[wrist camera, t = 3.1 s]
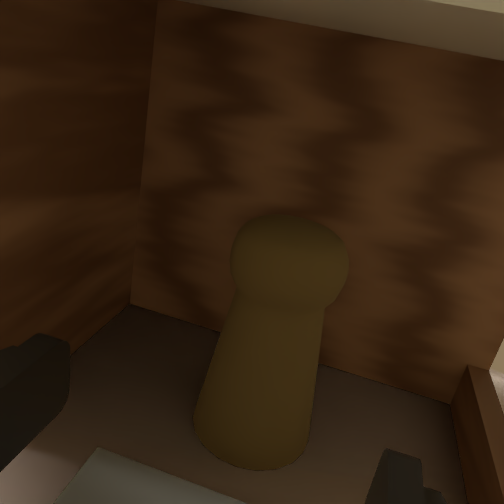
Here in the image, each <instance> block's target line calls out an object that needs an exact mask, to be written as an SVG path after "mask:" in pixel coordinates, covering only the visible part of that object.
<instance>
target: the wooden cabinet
mask: <svg viewBox="0 0 504 504" xmlns="http://www.w3.org/2000/svg"><path fill="white" fill-rule="evenodd" d="M271 214H280V215H290V216H295V217H300V218H304V219H307V220H310V221H314V222H316V223H319V224H321V225H323V226H325V227H327V228H329V229H330V230H332V231H333V232H334V233H335V234H337V235H338V236H339V237H340V238H341V239H342V240H343V241H344V244H345V247H346V251H347V254H348V258H349V272H348V275H347V279H346V282H345V284H344V286H343V288H342V289H341V291H340V293H339V294H338V296H337V298H336V299H335V301H334V302H333V303H331V304H330V305H328V306H327V307H325V312H324V320H323V328H322V336H321V344H320V352H319V360H318V363H320V364H323V365H327V366H330V367H333V368H336V369H339V370H343V371H346V372H349V373H352V374H355V375H358V376H362V377H365V378H368V379H371V380H374V381H377V382H381V383H384V384H387V385H390V386H393V387H397V388H400V389H403V390H406V391H409V392H412V393H416V394H419V395H422V396H425V397H428V398H431V399H435V400H438V401H441V402H444V403H447V404H450V407H451V413H452V418H453V424H454V429H455V435H456V440H457V446H458V451H459V456H460V462H461V467H462V473H463V478H464V484H465V489H466V495H467V500H468V504H504V414H503V411H502V408H501V405H500V402H499V399H498V396H497V393H496V390H495V388H494V385H493V382H492V379H491V376H490V373H489V369H490V367H491V365H492V363H493V360H494V358H495V356H496V354H497V352H498V350H499V347H500V345H501V343H502V341H503V339H504V0H0V350H1V349H4V348H7V347H10V346H12V345H14V346H17V347H18V346H19V345H21V344H22V343H24V342H25V341H26V340H28V339H29V338H31V337H32V336H33V335H35V334H37V333H44V334H47V335H50V336H53V337H56V338H59V339H62V340H65V341H67V342H68V343H69V344H70V355H71V354H72V353H74V352H75V351H76V350H77V349H78V348H79V347H80V346H82V345H83V344H84V343H85V342H86V341H87V340H88V339H90V338H91V337H92V336H93V335H94V334H95V333H96V332H98V331H99V330H100V329H101V328H102V327H103V326H105V325H106V324H107V323H108V322H109V321H110V320H111V319H113V318H114V317H115V316H116V315H117V314H118V313H119V312H121V311H122V310H123V309H124V308H125V307H126V306H127V305H129V304H133V305H136V306H139V307H142V308H145V309H149V310H152V311H155V312H158V313H161V314H165V315H168V316H171V317H174V318H177V319H180V320H184V321H187V322H190V323H193V324H196V325H200V326H203V327H206V328H209V329H212V330H215V331H219V332H221V331H222V328H223V325H224V322H225V319H226V317H227V314H228V311H229V308H230V305H231V302H232V299H233V296H234V293H235V290H236V288H237V286H236V284H235V282H234V280H233V278H232V275H231V272H230V261H229V260H230V254H231V248H232V245H233V242H234V239H235V237H236V235H237V233H238V231H239V230H240V228H241V227H242V226H243V225H244V224H245V223H246V222H248V221H249V220H251V219H252V218H256V217H259V216H263V215H271Z"/></svg>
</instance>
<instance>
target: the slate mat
mask: <svg viewBox="0 0 504 504" xmlns="http://www.w3.org/2000/svg"><path fill="white" fill-rule="evenodd" d="M53 504H247V503H245V502H242V501H240V500H237V499H234V498H232V497H229V496H226V495H224V494H221V493H218V492H216V491H213V490H211V489H208V488H205V487H203V486H200V485H197V484H195V483H192V482H189V481H187V480H184V479H182V478H179V477H176V476H174V475H171V474H168V473H166V472H163V471H160V470H158V469H155V468H153V467H150V466H147V465H145V464H142V463H139V462H137V461H134V460H131V459H129V458H126V457H123V456H121V455H118V454H116V453H113V452H110V451H108V450H105V449H102V448H100V447H97V449H96V450H95V451H94V452H93V454H92V455H91V456H90V457H89V459H88V460H87V461H86V462H85V464H84V465H83V466H82V468H81V469H80V470H79V471H78V473H77V474H76V475H75V476H74V478H73V479H72V480H71V482H70V483H69V484H68V485H67V487H66V488H65V489H64V490H63V492H62V493H61V494H60V495H59V497H58V498H57V499H56V501H55V502H54V503H53Z"/></svg>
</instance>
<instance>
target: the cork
mask: <svg viewBox="0 0 504 504" xmlns="http://www.w3.org/2000/svg"><path fill="white" fill-rule="evenodd" d="M229 261H230V272H231V275H232V278H233V280H234V282H235V284H236V286H237V288H236V290H235V293H234V296H233V299H232V302H231V305H230V308H229V311H228V314H227V317H226V319H225V322H224V325H223V328H222V331H221V334H220V337H219V340H218V343H217V346H216V349H215V351H214V354H213V357H212V360H211V363H210V366H209V369H208V372H207V375H206V378H205V380H204V383H203V386H202V389H201V392H200V395H199V398H198V401H197V404H196V407H195V411H194V414H193V422H194V429H195V432H196V434H197V436H198V437H199V439H200V441H201V442H202V444H203V445H204V446H205V447H206V448H207V449H208V450H209V451H210V452H212V453H213V454H214V455H215V456H216V457H217V458H219V459H221V460H223V461H225V462H227V463H230V464H232V465H234V466H236V467H241V468H245V469H250V470H255V471H258V470H274V469H278V468H281V467H283V466H286V465H288V464H291V463H293V462H294V461H295V460H296V459H297V458H298V457H299V456H300V455H301V454H303V452H304V449H305V447H306V445H307V442H308V439H309V431H310V423H311V415H312V407H313V399H314V391H315V383H316V376H317V368H318V360H319V352H320V344H321V336H322V328H323V320H324V312H325V307H327V306H328V305H330V304H331V303H333V302H334V301H335V299H336V298H337V296H338V294H339V293H340V291H341V289H342V288H343V286H344V284H345V282H346V279H347V275H348V272H349V258H348V254H347V251H346V247H345V244H344V241H343V240H342V239H341V238H340V237H339V236H338V235H337V234H335V233H334V232H333V231H332V230H330V229H329V228H327V227H325V226H323V225H321V224H319V223H316V222H314V221H310V220H307V219H304V218H300V217H295V216H290V215H280V214H271V215H263V216H259V217H256V218H252V219H251V220H249V221H248V222H246V223H245V224H244V225H243V226H242V227H241V228H240V230H239V231H238V233H237V235H236V237H235V239H234V242H233V245H232V248H231V254H230V260H229Z"/></svg>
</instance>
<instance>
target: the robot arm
mask: <svg viewBox="0 0 504 504" xmlns="http://www.w3.org/2000/svg"><path fill="white" fill-rule="evenodd" d="M69 376H70V344H69V343H68V342H67V341H65V340H62V339H59V338H56V337H53V336H50V335H47V334H44V333H37V334H35V335H33V336H32V337H31V338H29V339H28V340H26V341H25V342H24V343H22V344H21V345H19V346H18V347H17V346H14V345H12V346H10V347H7V348H4V349H1V350H0V472H1V471H2V470H3V469H4V468H5V467H6V466H7V465H8V464H9V463H10V462H11V461H12V460H13V459H14V458H15V457H16V456H17V455H18V454H19V453H20V452H21V451H22V450H23V449H24V448H25V447H26V446H27V445H28V444H29V443H30V442H31V441H32V440H33V439H34V438H35V437H36V436H37V435H38V434H39V433H40V432H41V431H42V430H43V429H44V428H45V427H46V426H47V425H48V424H49V423H50V422H51V421H52V420H53V419H54V418H55V417H56V416H57V415H58V413H59V412H60V411H61V409H62V408H63V406H64V404H65V402H66V400H67V397H68V393H69ZM365 504H447V503H446V501H445V499H444V498H443V496H442V494H441V492H438V491H435V490H432V489H429V488H426V487H424V486H423V477H422V466H421V461H420V459H418V458H415V457H412V456H409V455H406V454H403V453H400V452H397V451H394V450H391V449H388V448H386V449H385V450H384V452H383V454H382V457H381V459H380V462H379V465H378V468H377V470H376V473H375V476H374V478H373V481H372V484H371V487H370V489H369V492H368V495H367V498H366V501H365Z"/></svg>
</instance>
